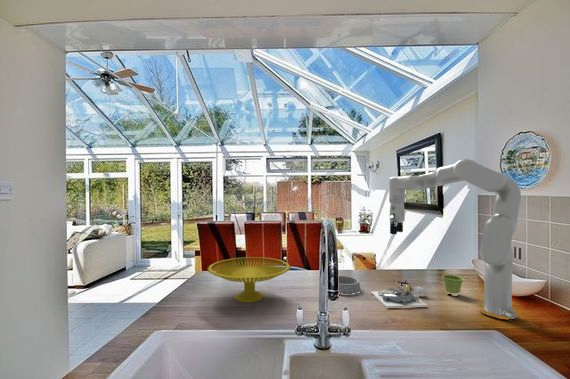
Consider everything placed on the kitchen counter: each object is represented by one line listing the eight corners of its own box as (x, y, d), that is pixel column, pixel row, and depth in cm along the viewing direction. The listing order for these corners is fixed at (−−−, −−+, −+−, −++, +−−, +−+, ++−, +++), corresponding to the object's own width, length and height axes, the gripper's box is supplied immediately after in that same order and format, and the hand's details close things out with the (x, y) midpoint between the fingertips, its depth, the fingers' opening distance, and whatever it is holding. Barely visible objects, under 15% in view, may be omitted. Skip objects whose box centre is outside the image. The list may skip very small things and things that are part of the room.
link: (425, 297, 147) (425, 288, 147) (418, 297, 147) (418, 289, 147) (421, 294, 151) (421, 286, 151) (413, 294, 151) (413, 286, 151)
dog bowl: (341, 282, 171) (341, 272, 171) (368, 291, 156) (368, 280, 156) (319, 288, 161) (319, 278, 161) (346, 298, 146) (346, 287, 146)
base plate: (427, 307, 134) (427, 305, 134) (386, 308, 132) (386, 306, 132) (407, 293, 153) (407, 290, 153) (370, 293, 151) (370, 291, 151)
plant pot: (457, 291, 155) (458, 275, 155) (467, 298, 146) (467, 280, 146) (438, 291, 156) (439, 274, 156) (446, 297, 147) (446, 279, 147)
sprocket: (424, 303, 135) (424, 291, 135) (388, 304, 133) (388, 292, 133) (405, 290, 152) (405, 279, 152) (373, 291, 151) (373, 280, 151)
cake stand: (234, 322, 118) (234, 284, 118) (192, 294, 149) (193, 264, 149) (308, 299, 144) (308, 267, 144) (260, 279, 175) (260, 253, 175)
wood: (389, 278, 179) (389, 273, 179) (403, 279, 177) (403, 274, 177) (397, 291, 157) (397, 285, 157) (412, 292, 156) (412, 286, 156)
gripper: (398, 200, 148) (398, 235, 148) (409, 200, 162) (409, 231, 162) (383, 200, 153) (383, 234, 153) (395, 199, 166) (394, 230, 166)
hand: (396, 232), depth 157 cm, fingers open, 9 cm apart
